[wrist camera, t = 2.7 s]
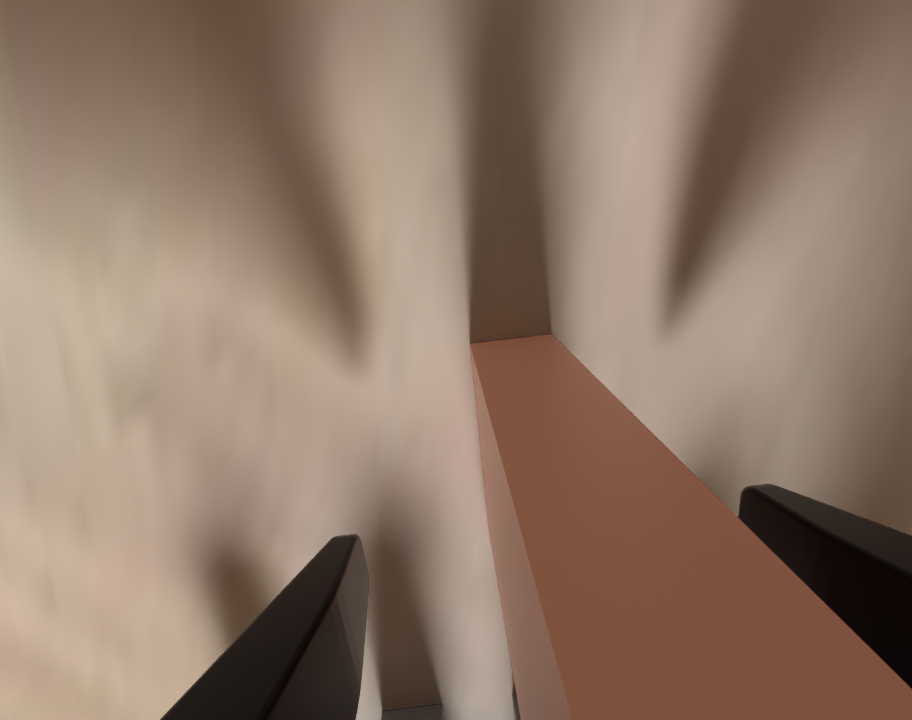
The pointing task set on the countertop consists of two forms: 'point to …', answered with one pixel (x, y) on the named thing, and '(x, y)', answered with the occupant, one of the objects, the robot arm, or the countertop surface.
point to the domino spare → (643, 569)
